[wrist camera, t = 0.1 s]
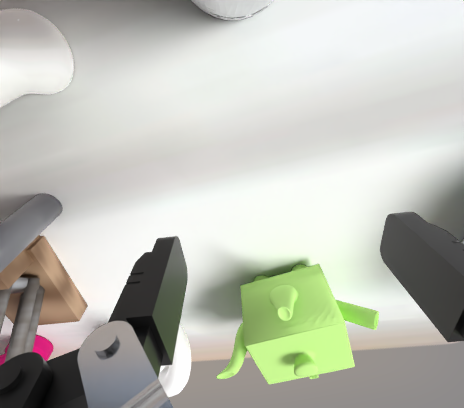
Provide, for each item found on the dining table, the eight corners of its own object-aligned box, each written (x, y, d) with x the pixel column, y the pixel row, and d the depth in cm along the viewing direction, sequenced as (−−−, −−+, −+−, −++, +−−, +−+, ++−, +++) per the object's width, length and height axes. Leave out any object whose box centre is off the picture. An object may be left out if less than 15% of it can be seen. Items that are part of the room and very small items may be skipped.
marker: (26, 194, 28) (-90, 278, 17) (55, 191, 28) (-46, 273, 17) (41, 218, 29) (-58, 308, 19) (68, 215, 29) (-17, 304, 19)
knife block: (-35, 235, 30) (-157, 321, 21) (38, 227, 30) (-51, 311, 20) (31, 314, 38) (-36, 405, 28) (89, 309, 38) (42, 398, 28)
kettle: (217, 306, 38) (215, 391, 29) (258, 236, 32) (273, 316, 22) (303, 328, 41) (327, 411, 32) (356, 268, 35) (407, 350, 25)
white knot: (163, 292, 36) (146, 357, 29) (214, 332, 42) (212, 396, 34) (109, 323, 40) (82, 388, 32) (163, 356, 45) (151, 419, 37)
